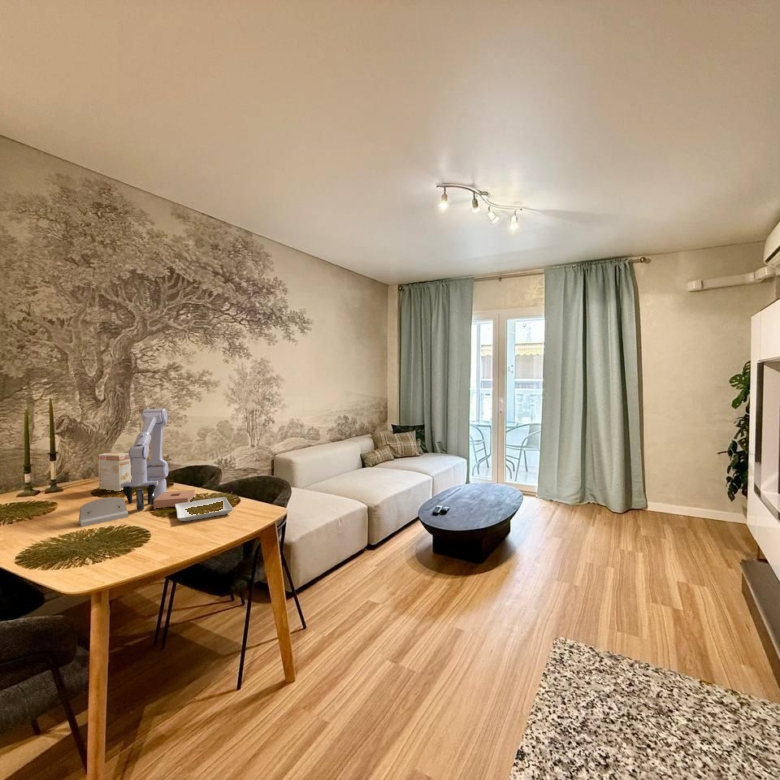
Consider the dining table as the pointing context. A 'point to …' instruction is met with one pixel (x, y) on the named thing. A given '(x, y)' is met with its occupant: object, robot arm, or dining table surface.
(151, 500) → the short pin
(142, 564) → the dining table surface
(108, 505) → the grey bracket
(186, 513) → the salad plate
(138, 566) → the dining table surface
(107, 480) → the coffeecake box
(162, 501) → the hole block
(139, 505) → the tall pin
